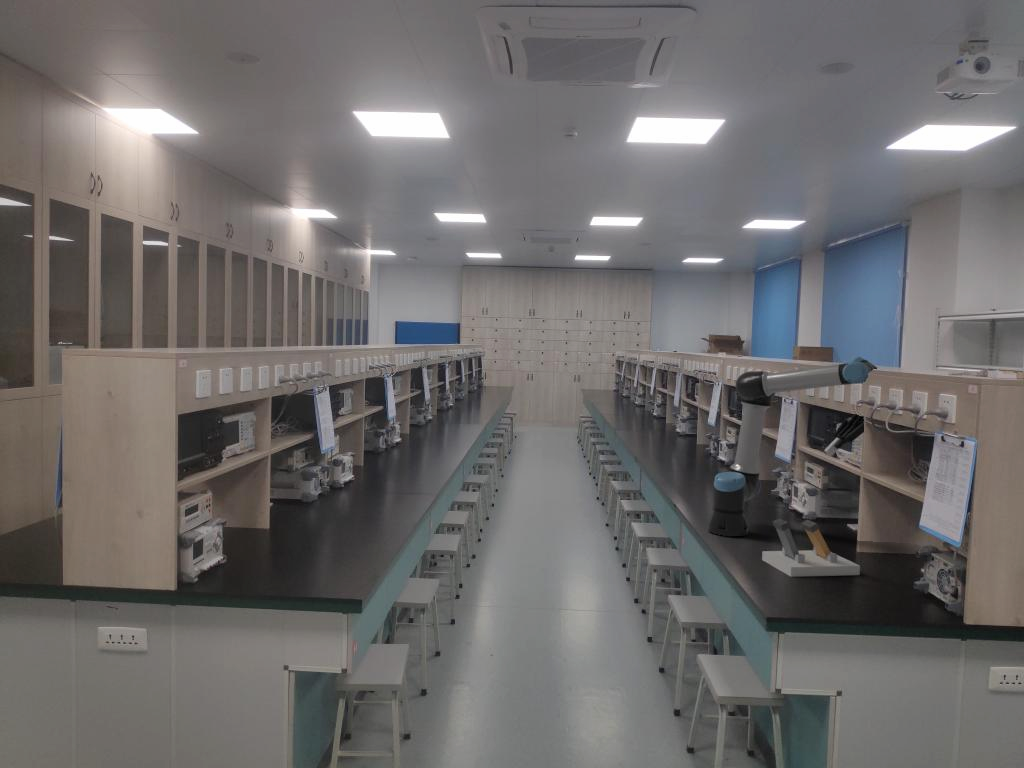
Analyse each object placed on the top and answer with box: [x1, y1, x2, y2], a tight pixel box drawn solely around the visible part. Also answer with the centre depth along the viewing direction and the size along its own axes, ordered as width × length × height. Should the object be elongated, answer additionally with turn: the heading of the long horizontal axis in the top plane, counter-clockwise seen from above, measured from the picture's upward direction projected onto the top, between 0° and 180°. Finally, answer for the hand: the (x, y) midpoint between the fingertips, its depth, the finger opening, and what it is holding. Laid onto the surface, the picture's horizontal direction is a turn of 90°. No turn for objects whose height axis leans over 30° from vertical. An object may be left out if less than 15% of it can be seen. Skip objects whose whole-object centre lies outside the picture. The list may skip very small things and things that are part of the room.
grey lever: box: [772, 517, 799, 559], centre depth 212 cm, size 5×3×13 cm, turn 8°
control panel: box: [761, 546, 861, 578], centre depth 214 cm, size 17×24×6 cm
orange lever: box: [800, 519, 832, 559], centre depth 214 cm, size 5×3×13 cm
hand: (827, 453), depth 228 cm, fingers closed
